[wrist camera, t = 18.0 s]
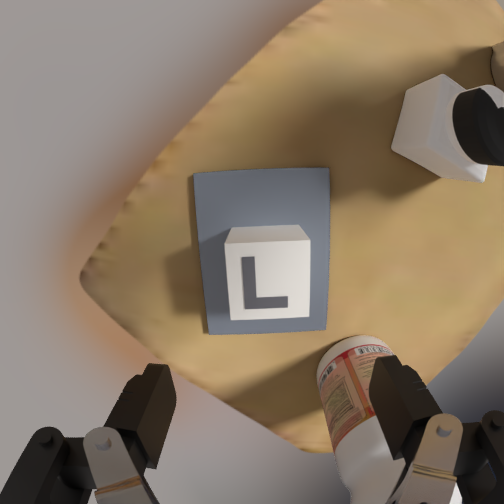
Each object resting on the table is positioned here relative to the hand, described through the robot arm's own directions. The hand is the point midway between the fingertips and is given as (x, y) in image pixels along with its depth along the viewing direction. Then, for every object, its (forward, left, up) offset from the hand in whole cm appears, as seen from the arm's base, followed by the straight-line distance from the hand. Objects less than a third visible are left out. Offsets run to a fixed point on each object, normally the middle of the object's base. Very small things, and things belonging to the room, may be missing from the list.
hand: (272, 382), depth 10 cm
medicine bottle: (-12, +17, -18) cm, 28 cm away
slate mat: (0, 0, -18) cm, 18 cm away
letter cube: (0, 0, -17) cm, 17 cm away
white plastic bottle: (+14, +10, -18) cm, 25 cm away
